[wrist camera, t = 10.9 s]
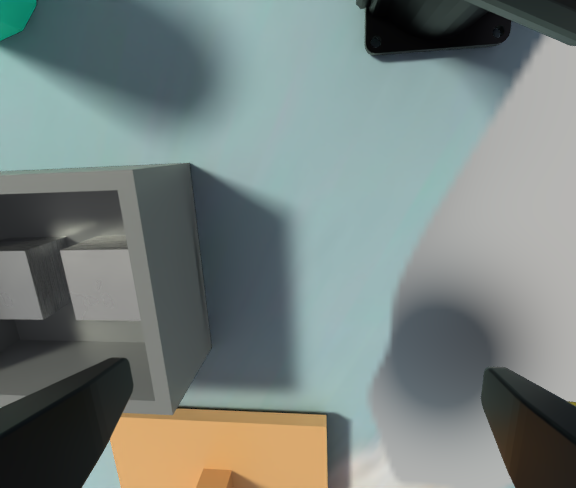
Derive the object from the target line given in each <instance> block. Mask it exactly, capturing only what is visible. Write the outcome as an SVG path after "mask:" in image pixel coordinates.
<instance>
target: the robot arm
mask: <svg viewBox="0 0 576 488" xmlns="http://www.w3.org/2000/svg"><path fill="white" fill-rule="evenodd" d="M356 4H357V6H358V7H359V8H360V9H364V8H365V49H366V51H367V53H369V54H370V55H388V54H401V53H413V52H426V51H439V50H451V49H464V48H477V47H490V46H496V45H499V44H500V43H502V42H503V41H505V40H506V39H507V37H508V36H509V33H510V28H511V21H514V22H516V23H518V24H521V25H523V26H525V27H528V28H530V29H532V30H535V31H537V32H539V33H542V34H544V35H546V36H549V37H551V38H553V39H556V40H558V41H561V42H563V43H565V44H567V45H570V46H576V0H356ZM494 28H497V29H499V30H500V37H499V38H496V37H494V36H493V30H494ZM375 38H376V39H379V40H380V46H379V47H377V48H374V47H373V46H372V45H371V40H372V39H375ZM133 387H134V384H133V378H132V373H131V368H130V363H129V360H128V359H127V358H125V357H111V358H108V359H106V360H104V361H102V362H100V363H97V364H95V365H93V366H91V367H89V368H86V369H84V370H82V371H80V372H78V373H75V374H73V375H71V376H69V377H67V378H65V379H62V380H60V381H58V382H56V383H54V384H51V385H49V386H47V387H45V388H43V389H40V390H38V391H36V392H34V393H32V394H30V395H27V396H25V397H23V398H21V399H19V400H16V401H14V402H12V403H10V404H8V405H5V406H3V407H1V408H0V488H82V486H83V485H84V483H85V481H86V480H87V478H88V476H89V475H90V473H91V471H92V470H93V468H94V466H95V465H96V463H97V461H98V460H99V458H100V456H101V455H102V453H103V451H104V449H105V447H106V445H107V444H108V442H109V440H110V438H111V436H112V434H113V432H114V430H115V427H116V425H117V423H118V421H119V419H120V417H121V415H122V413H123V411H124V409H125V407H126V405H127V403H128V401H129V399H130V397H131V395H132V392H133ZM481 401H482V406H483V409H484V412H485V414H486V417H487V419H488V422H489V425H490V427H491V430H492V432H493V435H494V438H495V440H496V443H497V445H498V448H499V451H500V453H501V456H502V458H503V461H504V463H505V466H506V468H507V471H508V473H509V475H510V477H511V479H512V482H513V484H514V486H515V488H576V406H574V405H573V404H571V403H569V402H567V401H565V400H564V399H562V398H560V397H558V396H556V395H555V394H553V393H551V392H549V391H547V390H546V389H544V388H542V387H540V386H538V385H536V384H535V383H533V382H531V381H529V380H527V379H526V378H524V377H522V376H520V375H518V374H517V373H515V372H513V371H511V370H509V369H507V368H505V367H487V368H486V369H485V372H484V378H483V385H482V394H481Z"/></svg>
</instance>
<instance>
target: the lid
mask: <svg viewBox="0 0 576 488" xmlns="http://www.w3.org/2000/svg"><path fill="white" fill-rule="evenodd" d="M110 442H111V446H112V450H113V455H114V459H115V463H116V468H117V472H118V476H119V481H120V485H121V488H328V470H327V418H326V415H316V414H293V413H269V412H246V411H223V410H200V409H176V411H175V412H174V414H173V415H158V414H136V413H122V415H121V417H120V419H119V421H118V423H117V425H116V427H115V430H114V432H113V434H112V436H111V438H110Z"/></svg>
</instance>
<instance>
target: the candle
mask: <svg viewBox="0 0 576 488" xmlns="http://www.w3.org/2000/svg"><path fill="white" fill-rule="evenodd" d="M35 7H36V0H0V41H1V40H3V39H5V38H8V37H10V36H12V35H14V34H16V33H19V32H21V31H23V29H24V28H25V26H26V24H27V22H28V20H29V18H30V17H31V15H32V13H33V11H34V9H35Z"/></svg>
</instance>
